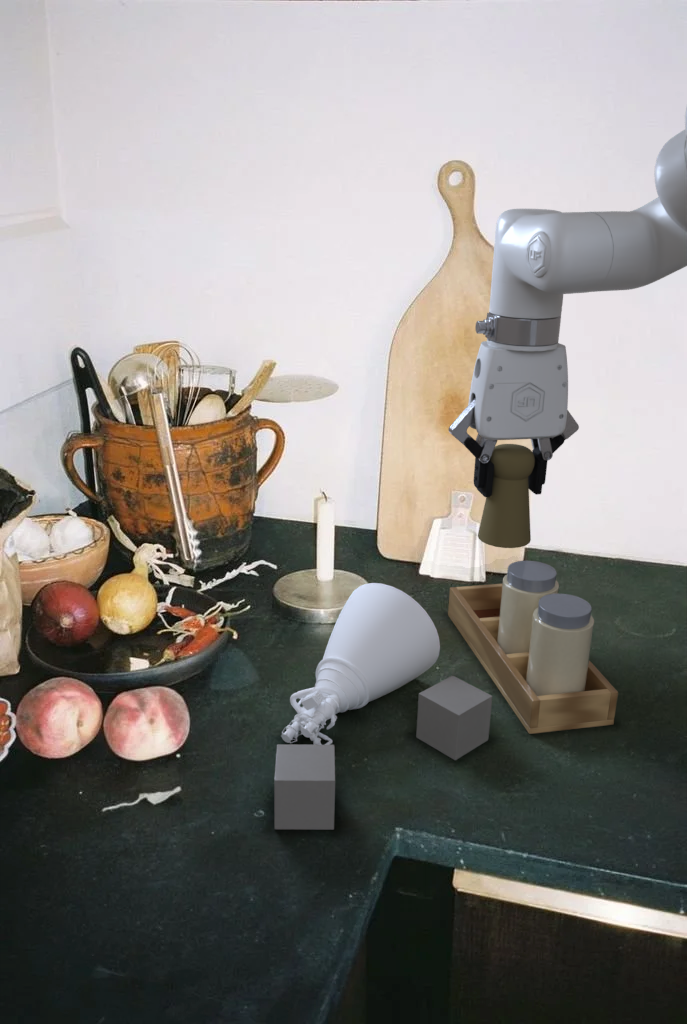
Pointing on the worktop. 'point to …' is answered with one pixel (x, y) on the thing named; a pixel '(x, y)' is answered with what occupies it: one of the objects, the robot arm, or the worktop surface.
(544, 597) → the cream shaker
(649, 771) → the worktop surface
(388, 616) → the rocket engine
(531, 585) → the cream shaker
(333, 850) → the worktop surface
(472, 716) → the grey block
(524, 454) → the olive pepper mill
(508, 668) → the spice rack
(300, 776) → the grey block
